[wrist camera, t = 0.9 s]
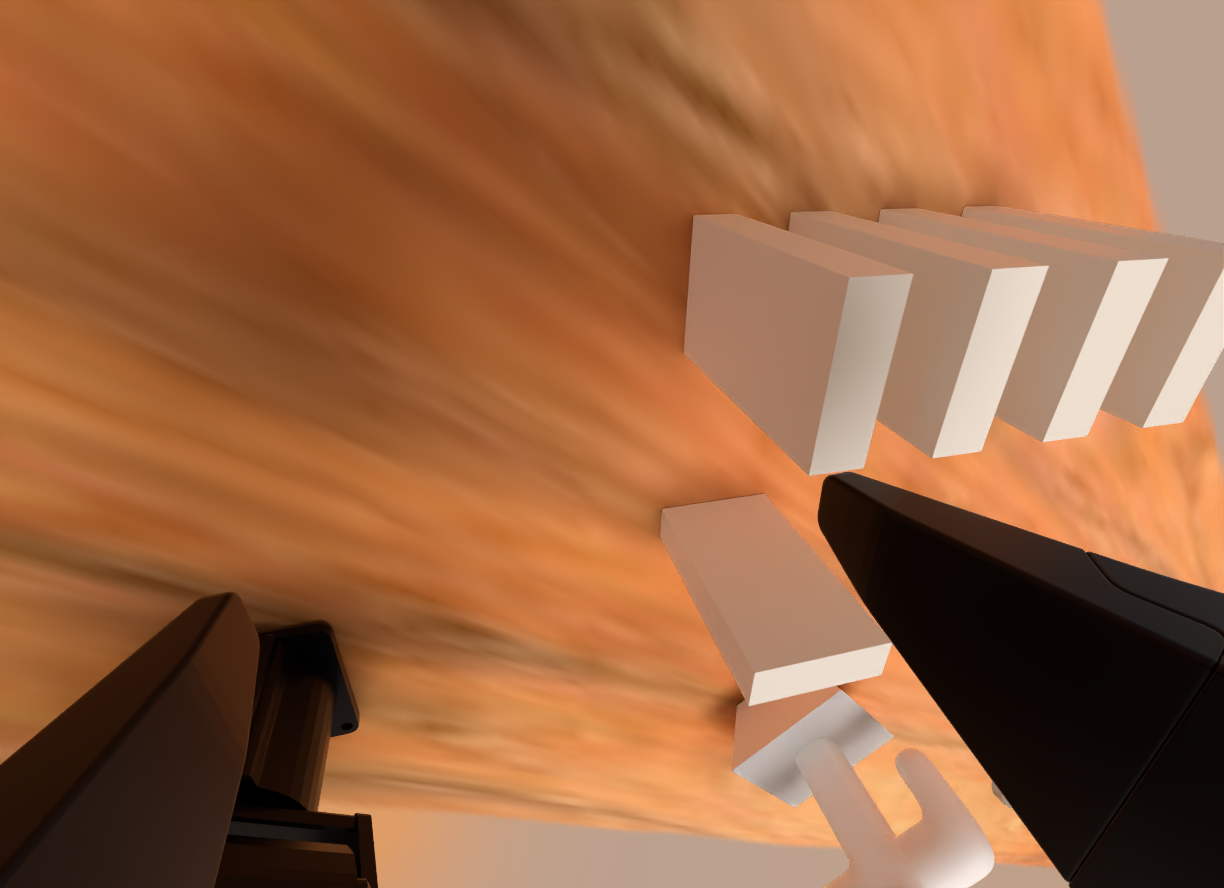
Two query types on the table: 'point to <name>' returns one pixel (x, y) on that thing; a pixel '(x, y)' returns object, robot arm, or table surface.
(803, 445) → the domino
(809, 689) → the domino
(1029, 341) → the domino
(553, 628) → the table surface
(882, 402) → the domino
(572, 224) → the table surface
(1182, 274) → the domino
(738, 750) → the figurine
